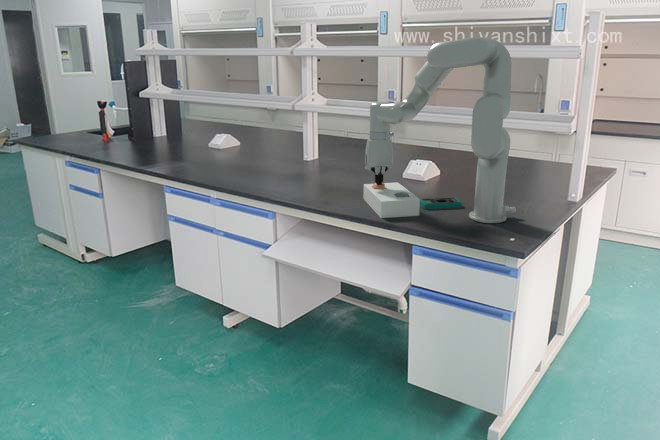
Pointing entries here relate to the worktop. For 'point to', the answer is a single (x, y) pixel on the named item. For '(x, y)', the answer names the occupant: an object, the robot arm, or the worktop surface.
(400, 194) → the charcoal plunger
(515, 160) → the worktop surface
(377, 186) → the orange rounded cylinder
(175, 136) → the worktop surface
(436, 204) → the digital multimeter
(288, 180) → the worktop surface
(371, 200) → the panel
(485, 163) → the robot arm
